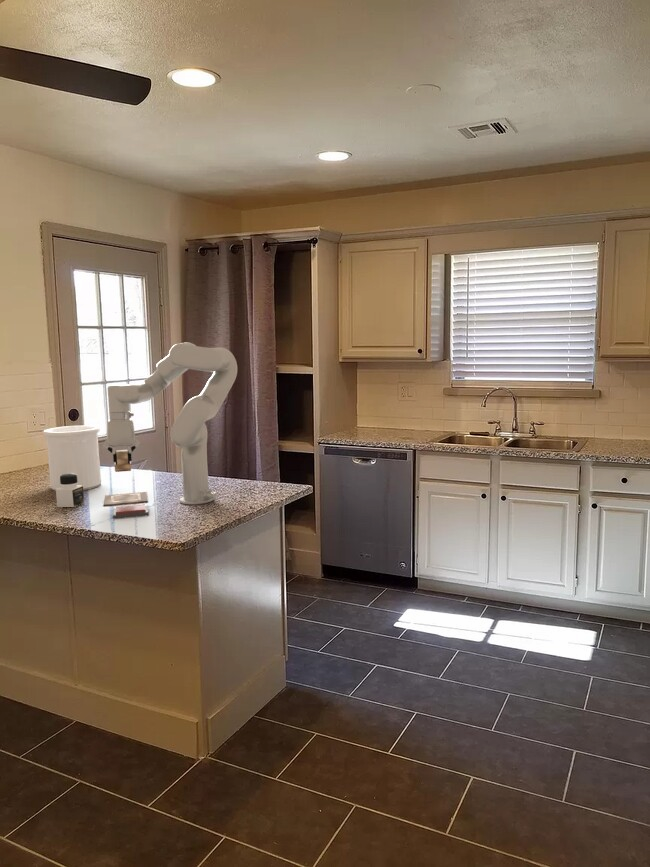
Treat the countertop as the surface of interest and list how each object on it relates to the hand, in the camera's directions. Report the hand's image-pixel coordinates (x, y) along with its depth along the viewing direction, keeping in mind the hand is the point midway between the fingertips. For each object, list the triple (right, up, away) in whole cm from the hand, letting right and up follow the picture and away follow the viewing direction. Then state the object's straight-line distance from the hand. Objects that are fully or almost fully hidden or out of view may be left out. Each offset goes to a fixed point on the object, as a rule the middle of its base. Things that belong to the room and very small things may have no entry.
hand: (122, 462), depth 262 cm
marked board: (+1, -14, +2) cm, 14 cm away
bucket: (-28, -12, +28) cm, 41 cm away
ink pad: (+9, -17, -19) cm, 27 cm away
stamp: (0, -3, 0) cm, 3 cm away
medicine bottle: (-18, -16, -5) cm, 25 cm away
